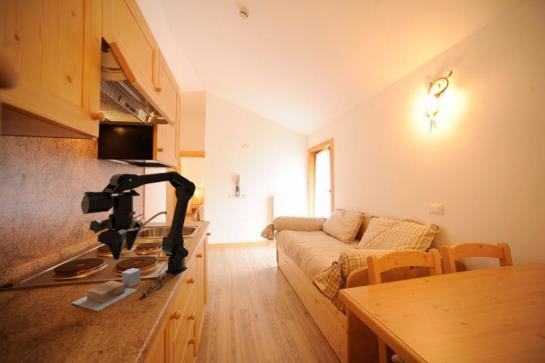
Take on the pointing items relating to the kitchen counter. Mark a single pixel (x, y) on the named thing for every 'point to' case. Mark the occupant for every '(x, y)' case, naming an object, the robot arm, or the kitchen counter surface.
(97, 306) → the build mat
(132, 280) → the grey block
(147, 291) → the wooden post with brackets
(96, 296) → the plinth
